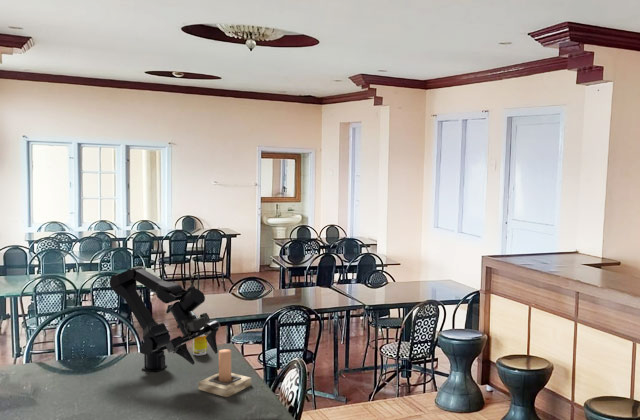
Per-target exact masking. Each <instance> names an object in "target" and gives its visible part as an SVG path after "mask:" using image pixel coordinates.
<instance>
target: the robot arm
mask: <svg viewBox="0 0 640 420" xmlns="http://www.w3.org/2000/svg"><path fill="white" fill-rule="evenodd" d="M137 283H139V284H141V285H142V286H145V287H146V288H147V289H149V290H150V291H152V292H154V293H155V295H156V297H157V298H158V300H160V301H161V302H162V303H164V304H167V308H166V314H170V313H171V314H172V317H174V320H175V321H176V323H177V325H176V328H177V329H179V330H180V331H181V333H182V336H181V335H179V336H176V337H174V338H171V334H170V331H169V329H168V327H167V326H166V325H165V323H164V322H162V323H159V322H156V320H155V319H154V317H153V316H152V314H151V312H150V310H149V309H148V308H147V306H146V304H145V303H144V301H143V299H142V297H141V296H140V294H139V293H138V290H137V285H138V284H137ZM109 286H110V289H112V291H113V292H114V293H115V294H116V295H118V296H119V297H121V298H123V299H124V300H125V302H126V304H127V306H128V308H129V309H130V311H131V312H132V313H133V316H134V317H135V319H136V321H137V323H139V326H140V327H141V329H142V339H143V342H142V344H141V345H140V346H139V352H140V354H142V355H143V358H144V359H143V360H144V362H143V363H144V366H143V367H142V368H141V370H143V371H148V372H154V373H157V372H159V371H162V370H163V369H165V368H167V367H168V365H167V364H166V355H165V350H167V353H169V354H170V353H172V354H177V355H178V356H180V357H182V358H183V359H184V360H186V361H187V362H188V363H190V364H191V365H193V366H194V365H195V360H194V359H193V356H192V355H191V353H190V351H189V349H188V345H187V343H188V342H190V341H191V340H192V339H195V338H197V337H199V336H201V335H203V334H204V335H206V336H207V337H206V340H207V344H209V347H210V348H211V349H212V351H213V352H214V354H217V353H218V354H219V350H218V346H217V337H216V336H217V333H218V332H219V329H220V328H221V324H220V322H219V321H218V320H213V321H211V319H210V316H209V315H208V312H203V313H201V314H200V315H199V317H197V316H196V315H195V314H192V312H194V311H195V310H196V309H197V308H199V307H200V306H202V304H204V303H205V300H206V297H205V294H204V293H203V292H202V291H201V290H200V289H198V288H196V286H195V285H193V286H189V287H188V288H187V289H185V288H183V287H182V285H181V284H179V283H176V282H172V281H166V280H163V279H161V278H160V277H158V276H156V275H154V274H152V273H151V272H150V271H147V270H146V269H145V268H144V267H142V266H134V267H130V268H128V269H127V270H125V271H123V272H120V273H116V274H113V275H112V276H111V277H110V279H109ZM169 303H171V304H169ZM210 321H211V322H210ZM203 327H204V328H203ZM201 328H203V329H201ZM200 329H201V330H200ZM196 334H197V335H196Z"/></svg>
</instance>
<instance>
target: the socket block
mask: <svg viewBox="0 0 640 420" xmlns="http://www.w3.org/2000/svg"><path fill="white" fill-rule="evenodd" d="M251 386H252V377H249V376H245V375H243V374H237V373H233V372H231V381H230V382H227V383H224V382H220V381H219V372H218V373H215V374H213V375H211V376H208V377H206V378H205V379H202V380H199V381H198V391H203V392H205V393H206V392H207V393H210V394H213V395H217V396H222V397H224V398H229V397H231V396H233V395H236V394H237V393H239V392H241V391H242V390H244V389H247V388H249V387H251Z"/></svg>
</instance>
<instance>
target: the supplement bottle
mask: <svg viewBox="0 0 640 420" xmlns="http://www.w3.org/2000/svg"><path fill="white" fill-rule="evenodd" d="M203 328H204V327H203ZM203 328H201V329H203ZM201 329H200V330H201ZM196 335H197V334H196ZM206 337H207V336H206V335H204V334H203V335H201V336H199V337H197V338H195V339H192V343H191V344H192V346H191V347H192V348H191V349H192V355H194V356H205V355H206V354H207V353H208V341H207V340H206Z"/></svg>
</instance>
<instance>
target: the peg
mask: <svg viewBox="0 0 640 420" xmlns="http://www.w3.org/2000/svg"><path fill="white" fill-rule="evenodd" d="M218 373H219V381H220V382H224V383H227V382H230V381H231V373H232V350H231V349H227V348H224V349H219V350H218Z"/></svg>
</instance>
